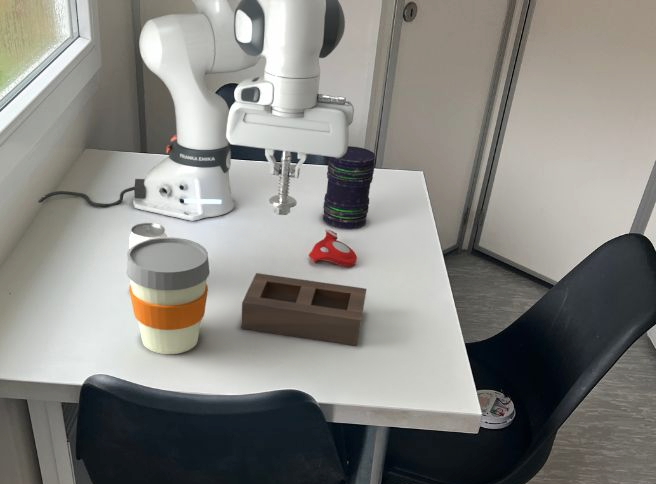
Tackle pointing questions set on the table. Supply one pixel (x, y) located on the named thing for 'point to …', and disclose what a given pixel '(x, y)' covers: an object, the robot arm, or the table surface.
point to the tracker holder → (333, 251)
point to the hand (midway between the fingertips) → (284, 175)
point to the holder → (303, 309)
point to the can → (146, 232)
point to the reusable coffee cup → (168, 292)
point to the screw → (283, 188)
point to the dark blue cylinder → (348, 188)
